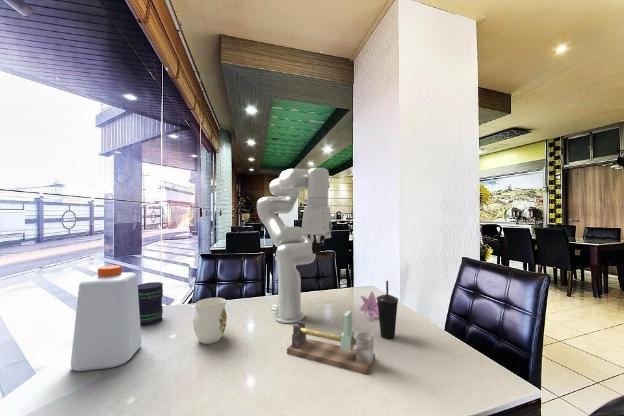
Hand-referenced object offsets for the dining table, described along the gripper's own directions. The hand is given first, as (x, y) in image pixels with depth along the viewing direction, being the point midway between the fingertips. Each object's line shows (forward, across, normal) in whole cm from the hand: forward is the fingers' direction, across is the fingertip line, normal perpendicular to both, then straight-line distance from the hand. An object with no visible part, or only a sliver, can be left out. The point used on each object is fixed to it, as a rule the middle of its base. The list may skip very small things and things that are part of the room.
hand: (316, 253), depth 96 cm
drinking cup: (+30, +24, +11) cm, 40 cm away
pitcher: (+31, -32, -18) cm, 48 cm away
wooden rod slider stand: (+30, +10, -10) cm, 33 cm away
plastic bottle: (+32, -51, -42) cm, 73 cm away
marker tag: (+25, +16, -10) cm, 32 cm away
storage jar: (+33, -67, -19) cm, 77 cm away
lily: (+31, +14, +26) cm, 43 cm away
